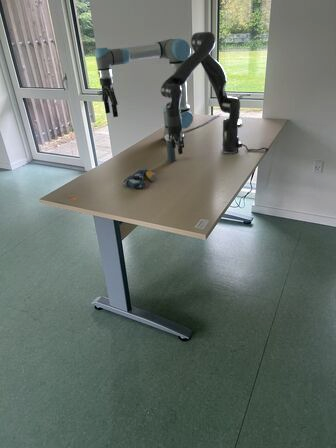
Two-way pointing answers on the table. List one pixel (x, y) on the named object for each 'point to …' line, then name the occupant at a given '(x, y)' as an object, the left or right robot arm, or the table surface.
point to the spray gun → (139, 178)
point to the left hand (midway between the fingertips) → (111, 114)
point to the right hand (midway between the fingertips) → (177, 150)
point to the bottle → (170, 152)
